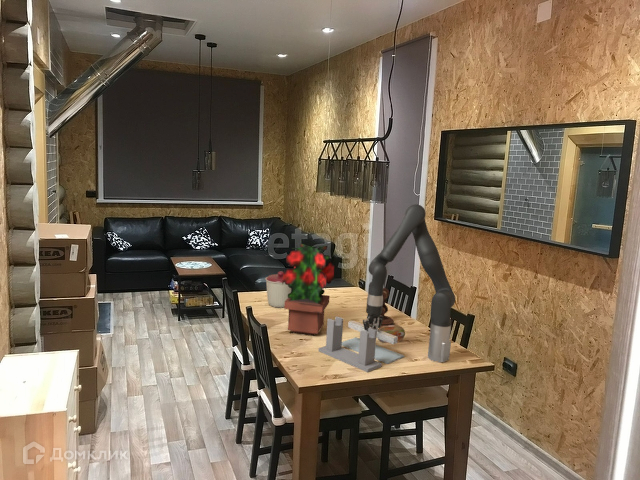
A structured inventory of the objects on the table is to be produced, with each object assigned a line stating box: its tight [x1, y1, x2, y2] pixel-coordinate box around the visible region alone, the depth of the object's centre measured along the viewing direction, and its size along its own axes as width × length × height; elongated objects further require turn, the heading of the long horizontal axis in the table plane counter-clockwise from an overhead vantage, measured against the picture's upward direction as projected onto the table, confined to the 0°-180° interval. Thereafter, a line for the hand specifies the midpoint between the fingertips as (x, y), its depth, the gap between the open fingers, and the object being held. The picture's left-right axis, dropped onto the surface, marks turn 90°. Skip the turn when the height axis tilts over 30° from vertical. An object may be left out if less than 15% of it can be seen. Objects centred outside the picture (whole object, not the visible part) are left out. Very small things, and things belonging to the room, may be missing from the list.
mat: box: [341, 336, 405, 365], centre depth 250 cm, size 30×13×1 cm, turn 46°
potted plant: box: [282, 243, 335, 337], centre depth 269 cm, size 22×22×45 cm
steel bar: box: [347, 320, 398, 345], centre depth 249 cm, size 28×3×3 cm, turn 45°
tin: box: [377, 324, 406, 344], centre depth 264 cm, size 15×3×8 cm, turn 105°
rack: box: [318, 315, 383, 373], centre depth 238 cm, size 30×10×16 cm, turn 46°
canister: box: [265, 270, 291, 308], centre depth 312 cm, size 18×18×21 cm
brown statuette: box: [370, 287, 395, 326], centre depth 289 cm, size 15×15×20 cm
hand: (371, 337), depth 250 cm, fingers closed on steel bar, 3 cm apart
